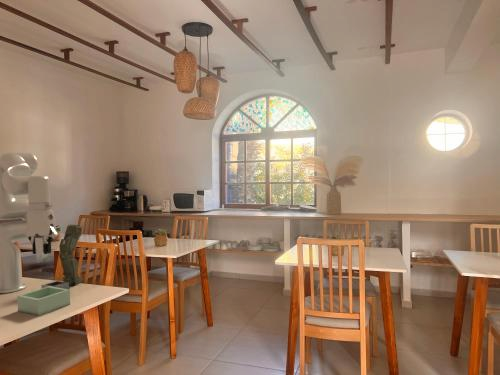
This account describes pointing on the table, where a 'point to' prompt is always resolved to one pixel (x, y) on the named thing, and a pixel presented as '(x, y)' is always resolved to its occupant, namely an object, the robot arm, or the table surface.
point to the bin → (43, 300)
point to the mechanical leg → (70, 254)
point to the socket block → (57, 285)
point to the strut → (40, 249)
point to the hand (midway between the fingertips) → (42, 252)
